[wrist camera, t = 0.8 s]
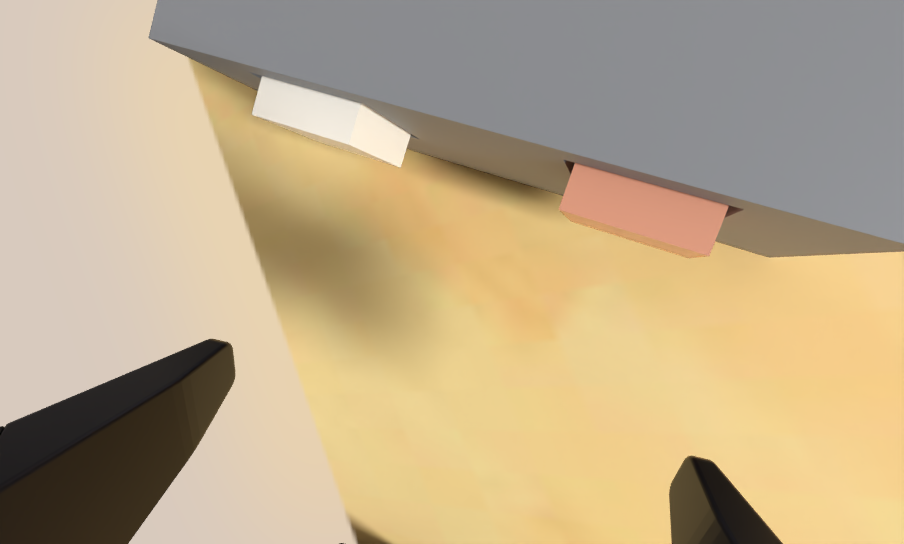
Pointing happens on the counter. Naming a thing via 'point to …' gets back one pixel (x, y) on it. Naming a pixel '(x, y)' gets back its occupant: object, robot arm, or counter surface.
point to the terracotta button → (642, 211)
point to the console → (613, 95)
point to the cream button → (331, 120)
